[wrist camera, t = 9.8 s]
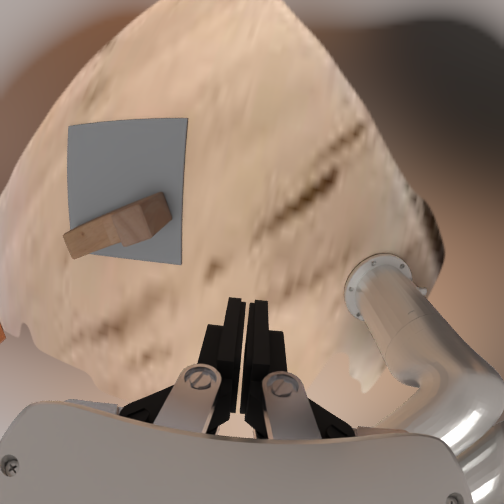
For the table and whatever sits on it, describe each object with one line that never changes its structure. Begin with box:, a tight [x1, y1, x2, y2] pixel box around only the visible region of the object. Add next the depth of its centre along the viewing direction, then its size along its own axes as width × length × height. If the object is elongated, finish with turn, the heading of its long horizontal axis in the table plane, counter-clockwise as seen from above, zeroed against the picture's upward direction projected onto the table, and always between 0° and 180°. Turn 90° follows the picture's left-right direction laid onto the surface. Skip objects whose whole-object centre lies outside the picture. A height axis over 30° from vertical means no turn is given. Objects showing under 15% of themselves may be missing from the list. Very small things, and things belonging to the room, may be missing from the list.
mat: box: [67, 118, 188, 265], centre depth 39 cm, size 21×22×1 cm
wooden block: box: [63, 192, 172, 259], centre depth 36 cm, size 9×4×18 cm
